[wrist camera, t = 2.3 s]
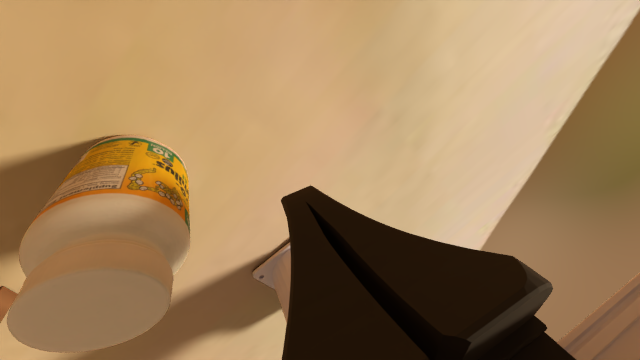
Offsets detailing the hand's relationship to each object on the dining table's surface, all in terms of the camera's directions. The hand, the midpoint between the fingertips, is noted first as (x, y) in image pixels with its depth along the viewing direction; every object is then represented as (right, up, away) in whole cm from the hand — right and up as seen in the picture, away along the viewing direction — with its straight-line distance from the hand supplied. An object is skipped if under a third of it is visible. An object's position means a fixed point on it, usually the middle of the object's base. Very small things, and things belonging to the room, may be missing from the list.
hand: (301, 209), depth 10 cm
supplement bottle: (-11, +2, +5) cm, 12 cm away
